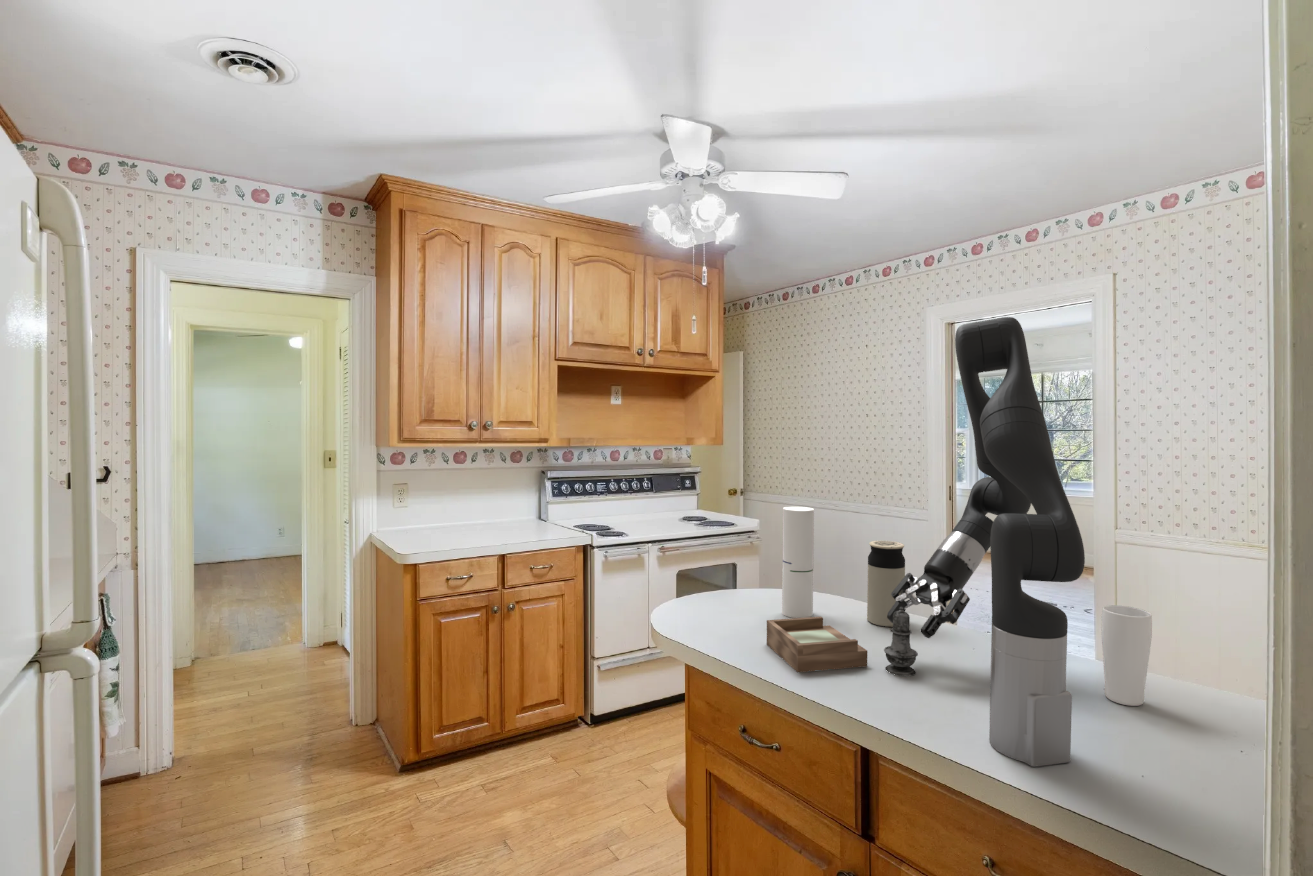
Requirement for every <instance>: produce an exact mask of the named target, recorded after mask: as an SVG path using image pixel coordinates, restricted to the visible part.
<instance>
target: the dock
mask: <svg viewBox="0 0 1313 876" xmlns="http://www.w3.org/2000/svg"><path fill="white" fill-rule="evenodd" d="M858 642H859V641H858V640H857V639H856V638H853V639H851V638H850V637H848V636H846V635H844V634H843V633H842V632H840V631H839V630H838V629H836V628H834V627H833V626H832V625H829V624H828V625H824V617H822V616H811V617H806V618H792V617H790V618H780V619H779V618H778V619H767V620H766V645H767V646H768V647H769V648H770V649H771V650H772V649H773V650H772V651H773V652H774V653H776V654H777V656H779V657H780V658H781V659H782V658H783V659H782V660H783V661H784V660H785V661H784V662H786V663H787V664H788V665H789V667H791V668H792V669H793V670H794V671H795V670H796V671H795V672H796V673H798V672H799V673H807V672H808V671H810V672H816V671H815V670H821V671H829V670H828V669H833V670H841V669H842V670H843V669H853V668H854V667H855V668H866V667H868V650H867V649H866V648H864V647H863V646H861V645H860V644H859V643H858ZM808 673H809V672H808Z"/></svg>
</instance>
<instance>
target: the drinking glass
mask: <svg viewBox="0 0 1313 876" xmlns="http://www.w3.org/2000/svg"><path fill="white" fill-rule="evenodd" d="M1152 616H1153V615H1152V613H1151V612H1149V611H1147V610H1144V609H1142V608H1138V607H1133V606H1127V605H1117V604H1107V605H1103V606H1102V609H1101V618H1100V619H1101V623H1100V625H1101V626H1100V633H1101V634H1100V635H1101V636H1100V637H1101V647H1102V648H1101V649H1102V660H1103V661H1102V662H1103V675H1104V695H1105V697H1106V698H1107V699H1108V700H1110V701H1112V702H1114V703H1116V704H1119V705H1124V706H1128V707H1129V706H1130V707H1138V706H1142V705H1143V704H1145V689H1146V684H1147V683H1146V682H1147V676H1148V669H1149V661H1150V654H1151V646H1152V638H1153V637H1152V636H1153V617H1152Z"/></svg>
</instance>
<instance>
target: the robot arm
mask: <svg viewBox="0 0 1313 876" xmlns="http://www.w3.org/2000/svg"><path fill="white" fill-rule="evenodd" d="M954 339H955V340H954V341H955V342H954V344H955V345H954V348H955V355H956V361H957V365H958V371H959V376H960V381H961V385H962V391H963V393H964V398H965V402H966V406H967V410H968V413H969V417H970V421H971V426H972V431H973V432H972V433H973V439H974V448H975V456H976V465H977V468H978V470H979V471H980V472H982V473H983V474H985V475H986V476H985V477H983V478H980V479H979V480H977V481H976V482H975V483H974V484H973V486H972V487H971V490H970V492H969V496H968V500H967V503H966V506H965V507H964V511H963V514H962V516H961V517H960V520H959V521H958V522H957V523H956V525H955V526H954V527H953V529H952V530H951V531H950V533H949V534H948V535H947V536H946V537H945V538H944V539H943V540H942V542H941V543H940V544H939V545H938V547H937V548H936V549H935V551H934V552H933V554H932V555H931V556H930V558H929V559H928V560H927V562H926V564H925V565H924V566H923V571H924V572H923V574H922V575H921V576H919V577H915V575H913V574H912V573H911V572H907V573H905V577H904V578H903V579H902V580H901V582H900V583H899V584H898V585H897V587H896V588H895V589H894V590H893V592H892V593H891V595H892V597H893V598H894V599H895V600H896V602H895V604H894V605H893V606H892V608H891V609H890V610H889V612H888V614H887V618H888V619H889V621H890V622H891V623H893V614H894V613H895V612H896V611H899V610H900V607H901V606H902V607H903V611H904V612H906V610H907V608H910V607H912V606H918V605H920V604H922V605H923V604H924V605H927V606H928V605H929V606H930V607H932V609H933V610H932V612H933V614H930V616H929V617H928V619H926V621H925V622H924V624H923V625H922V627H921V628H920V633H921V634H922V635H923V636H924V638H926V639H927V638H928V639H931V638H932V637H933V636H934V635H935V634H936V633H937V631H938V630H939V628H940V627H941V626H942V624H945V623H950V624H951V625H952V624H956V623H957V621H958V620H959V619H960V617H961V615H962V613H963V611H964V610H965V609H966V607H967V605H968V603H969V602H970V600H971V598H970V597H969V595H968V594H967V593H966V591H964V590H963V589H964V587H965V586H966V585H967V583H968V582H969V580H970V579H971V577H972V576H973V574H974V573H975V572H976V571H977V569H978V568H979V566H980V565H981V563H982V561H983V558H984V556H985V555H986V553H987V552H988V551H989V549H990V563H991V565H990V566H991V568H990V569H991V641H990V643H991V644H990V645H991V646H990V680H989V681H990V682H989V683H990V685H989V686H990V687H989V688H990V690H989V730H988V732H989V734H988V735H989V737H988V740H989V743H990V745H991V746H992V747H993V748H994V750H996V751H998V753H1000V754H1002V755H1005V757H1009V758H1011V759H1013V760H1016V761H1020V762H1023V763H1025V764H1027V765H1029V766H1030V767H1033V768H1035V767H1041V766H1043V767H1044V766H1051V765H1057V764H1058V765H1059V764H1064V763H1070V762H1071V746H1072V716H1073V715H1072V714H1073V713H1072V710H1073V707H1072V705H1073V694H1072V693H1071V692H1069V691H1068V690H1066V688H1067V658H1068V657H1067V654H1068V651H1067V650H1068V617H1067V614H1066V613H1065V612H1064V610H1062V609H1060V608H1059V607H1057V606H1056V605H1053V604H1051V603H1048V602H1045V601H1043V600H1040V599H1038V598H1035V597H1033V596H1031V595H1029V594H1028V593H1026V592H1025V591H1023V589H1022V588H1023V587H1022V581H1029V582H1030V581H1031V582H1033V581H1035V582H1045V583H1046V582H1048V583H1049V582H1050V583H1070V582H1071V583H1072V582H1074V581H1077V580H1078V579H1080V577H1081V576H1082V574H1083V572H1084V569H1085V563H1086V559H1085V556H1086V555H1085V547H1084V541H1083V537H1082V534H1081V531H1080V528H1079V525H1078V521H1077V519H1076V517H1075V514H1074V511H1073V509H1072V506H1071V504H1070V501H1069V499H1068V497H1067V494H1066V491H1065V489H1064V486H1063V484H1062V480H1061V477H1060V475H1059V471H1058V468H1057V464H1056V461H1055V460H1056V459H1055V456H1054V452H1053V447H1052V443H1051V438H1050V434H1049V430H1048V427H1047V426H1048V425H1047V423H1046V419H1045V416H1044V413H1043V409H1042V407H1041V404H1040V401H1039V398H1038V394H1037V392H1036V391H1037V390H1036V388H1035V385H1034V380H1033V375H1032V370H1031V365H1030V358H1029V353H1028V348H1027V342H1026V336H1025V333H1024V330H1023V327H1022V324H1021V323H1020V322H1019V321H1018V319H1016V318H1015V317H1012V316H1007V317H1006V316H1005V317H997V318H993V319H992V318H991V319H985V320H979V321H975V322H968V323H963V324H961V325H959V326H958V327H957V328H956V331H955V337H954ZM1001 370H1006V372H1005V375H1004V377H1003V379H1002V381H1001V383H1000V384H999V386H998V387H997V389H996V390H995V391H994V393H993V394H992V395H991V396H989V395H988V393H987V392H986V390H985V389H984V388H983V384H982V383H981V379H980V376H979V374H980V373H981V374H982V373H984V372H985V373H987V372H993V371H994V372H996V371H1001ZM1031 506H1032V507H1033V509H1034V511H1035V513H1029V511H1030V509H1031ZM988 514H992V515H995V516H996V517H995V518H994V519H993V520H992V519H991V518H989V516H987V515H988ZM901 590H902V593H901V595H899V593H900V592H901ZM914 594H915V595H914ZM948 602H949V603H948Z"/></svg>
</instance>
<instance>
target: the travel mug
mask: <svg viewBox="0 0 1313 876" xmlns="http://www.w3.org/2000/svg"><path fill="white" fill-rule="evenodd" d="M868 545H869V547H870V552H869V555H868V556H867V591H866V592H867V596H866V597H867V599H866V601H867V602H866V604H867V605H866V612H867V613H866V620H867V621H868V622H869V623H871V624H873V625H875V626H879V627H884V626H885V627H886V628H887V627H888V628H893V623H891V622H890V621H889V619H888V618H887V614H888V612H889V610H890V609H891V608H892V606H893V605H894V604H895V602H896V600H895V599H894V598H893V597H892V595H891V593H892V592H893V590H894V589H895V588H896V587H897V585H898V584H899V583H900V582H901V580H902V579H903V578H904V577H905V576H906V558H905V557H904V555H903V549H904V547H905V544H903V543H901V542H899V541H898V542H897V541H892V540H872V541H870V542H869V543H868ZM901 593H902V590H901V592H900V593H899V595H901Z"/></svg>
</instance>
